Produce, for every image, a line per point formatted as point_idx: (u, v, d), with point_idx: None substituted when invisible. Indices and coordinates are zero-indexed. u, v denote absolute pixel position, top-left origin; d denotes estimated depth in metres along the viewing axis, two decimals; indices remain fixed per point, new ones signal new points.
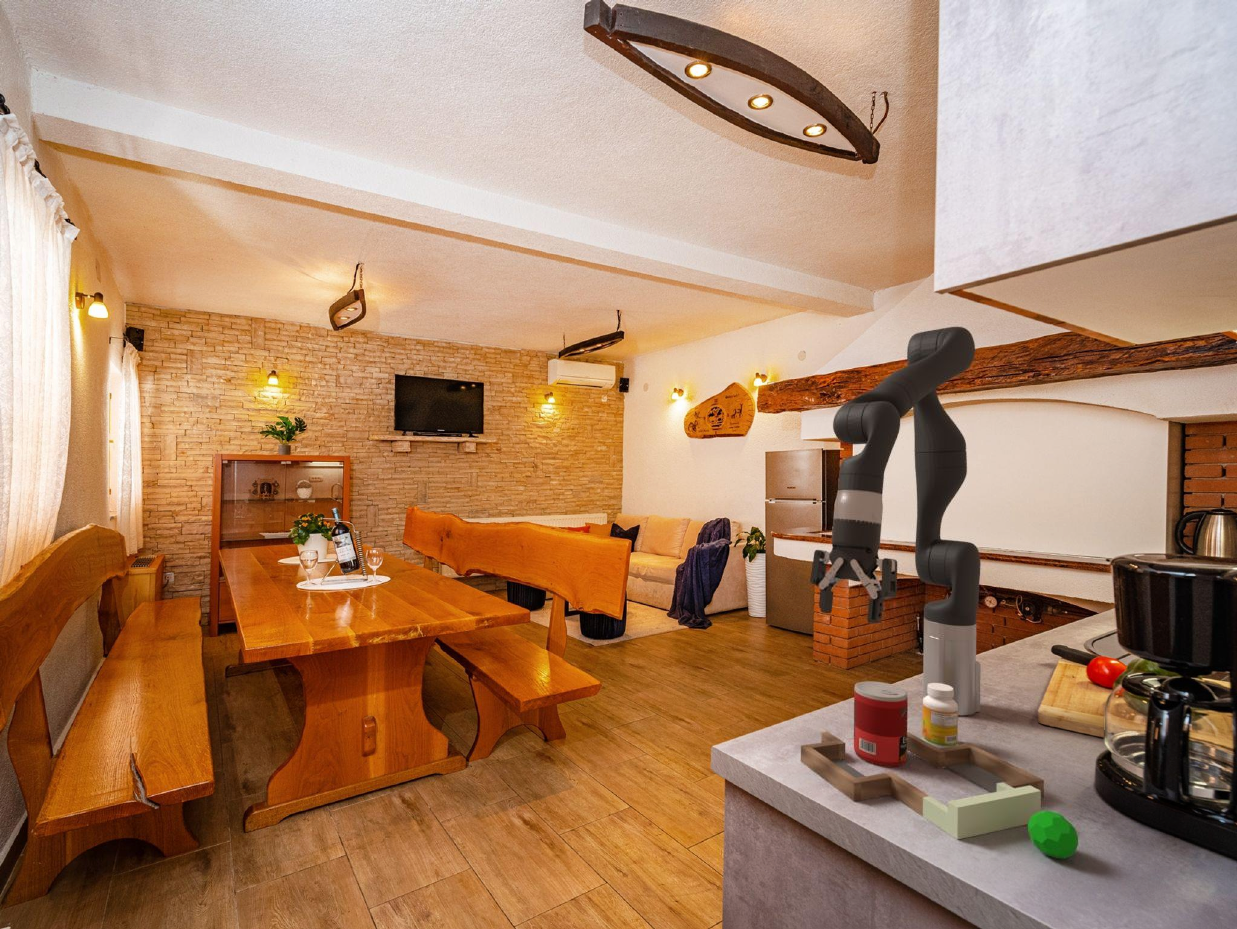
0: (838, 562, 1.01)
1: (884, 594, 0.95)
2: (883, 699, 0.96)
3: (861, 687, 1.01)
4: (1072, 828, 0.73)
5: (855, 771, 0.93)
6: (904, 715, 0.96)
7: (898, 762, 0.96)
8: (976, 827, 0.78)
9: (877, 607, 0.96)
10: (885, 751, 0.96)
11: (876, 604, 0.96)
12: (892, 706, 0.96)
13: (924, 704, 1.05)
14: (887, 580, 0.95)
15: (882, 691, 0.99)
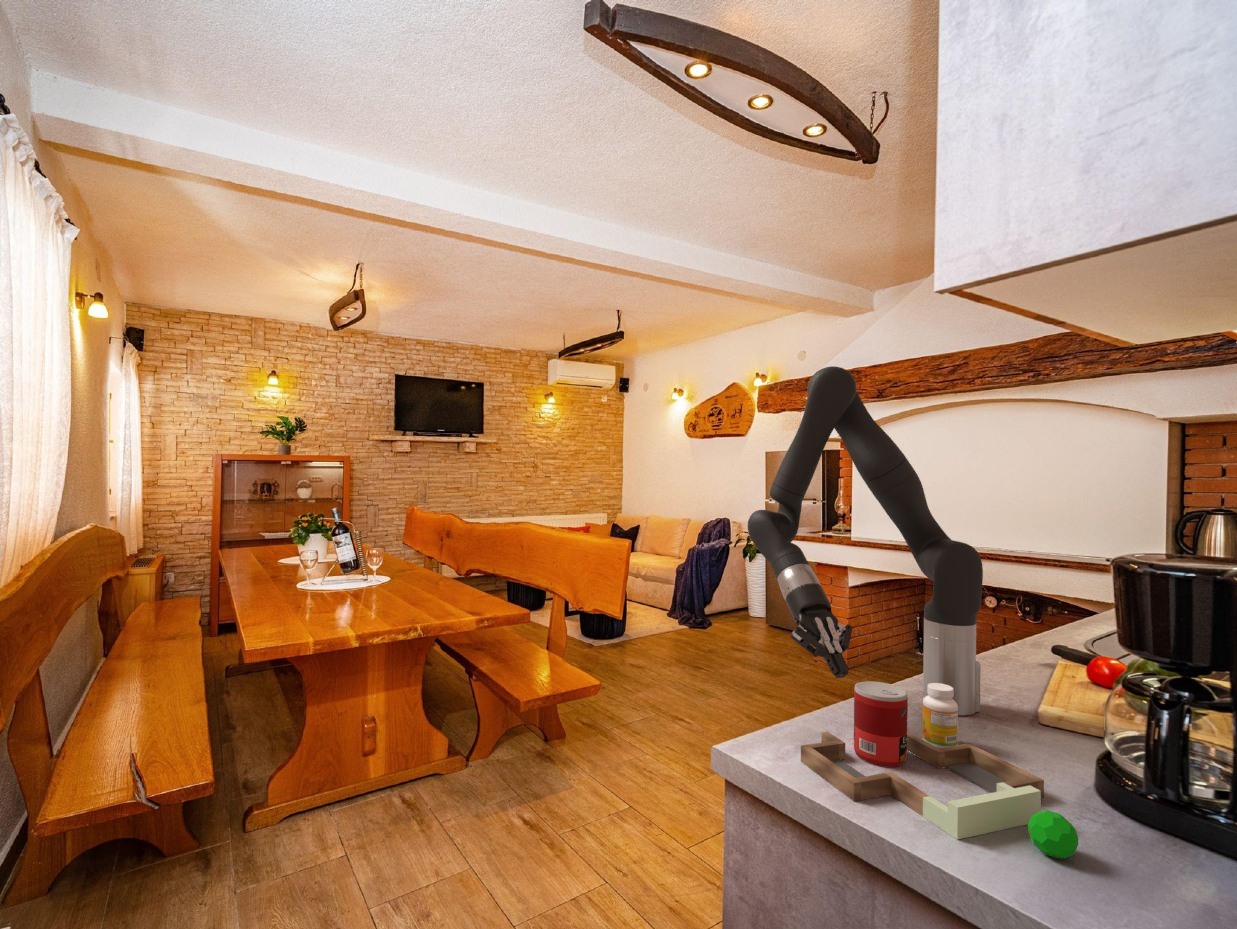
0: None
1: None
2: (883, 699, 0.96)
3: (862, 687, 1.01)
4: (1072, 828, 0.73)
5: (855, 771, 0.93)
6: (904, 715, 0.96)
7: (898, 762, 0.96)
8: (976, 827, 0.78)
9: (828, 664, 1.10)
10: (885, 751, 0.96)
11: None
12: (892, 706, 0.96)
13: (924, 704, 1.05)
14: None
15: (882, 691, 0.99)
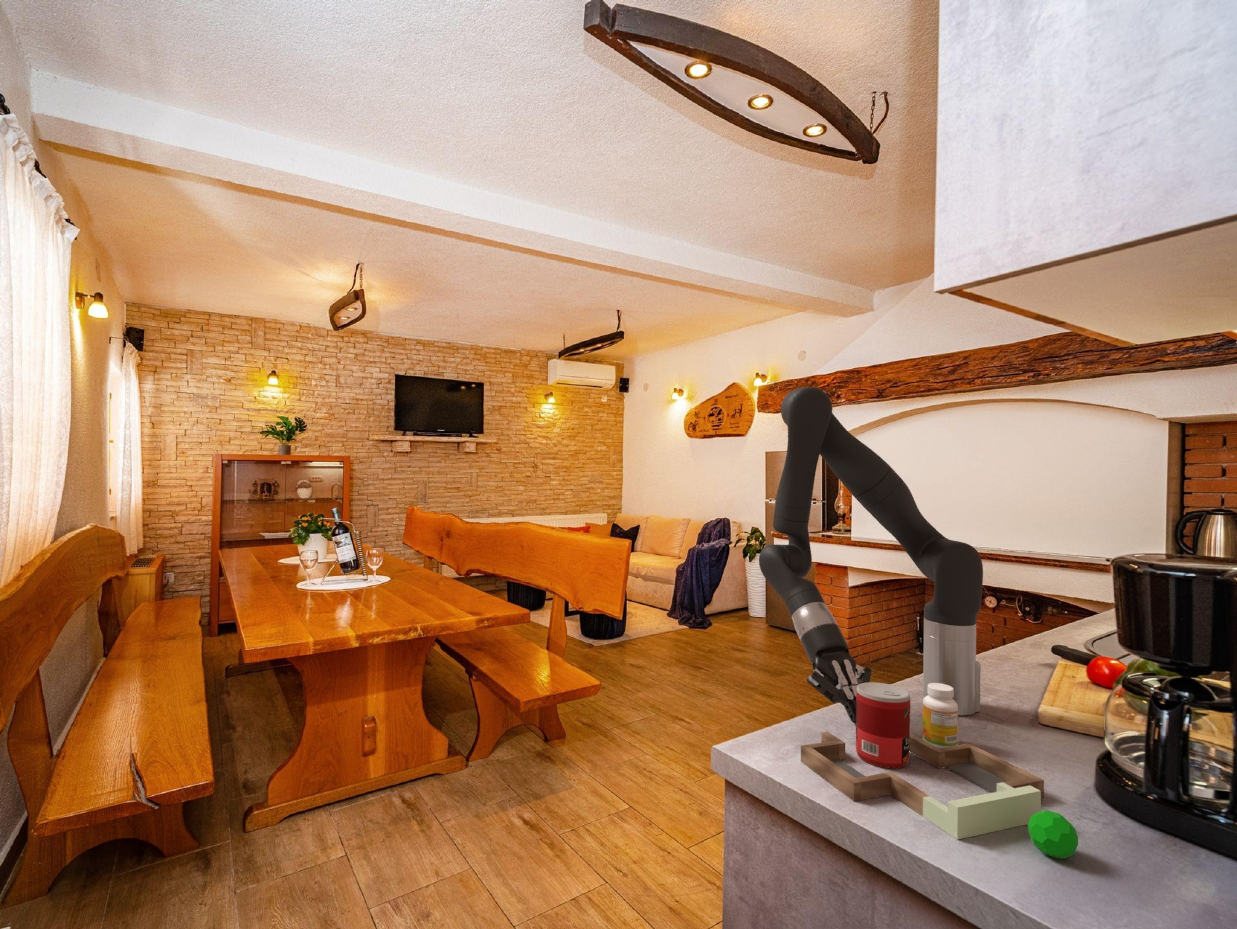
0: None
1: None
2: (885, 700, 0.95)
3: (864, 688, 1.01)
4: (1072, 828, 0.73)
5: (855, 771, 0.93)
6: (907, 716, 0.96)
7: (901, 763, 0.95)
8: (976, 827, 0.78)
9: (847, 711, 1.05)
10: (887, 753, 0.95)
11: None
12: (894, 707, 0.95)
13: (924, 704, 1.05)
14: None
15: (884, 692, 0.98)
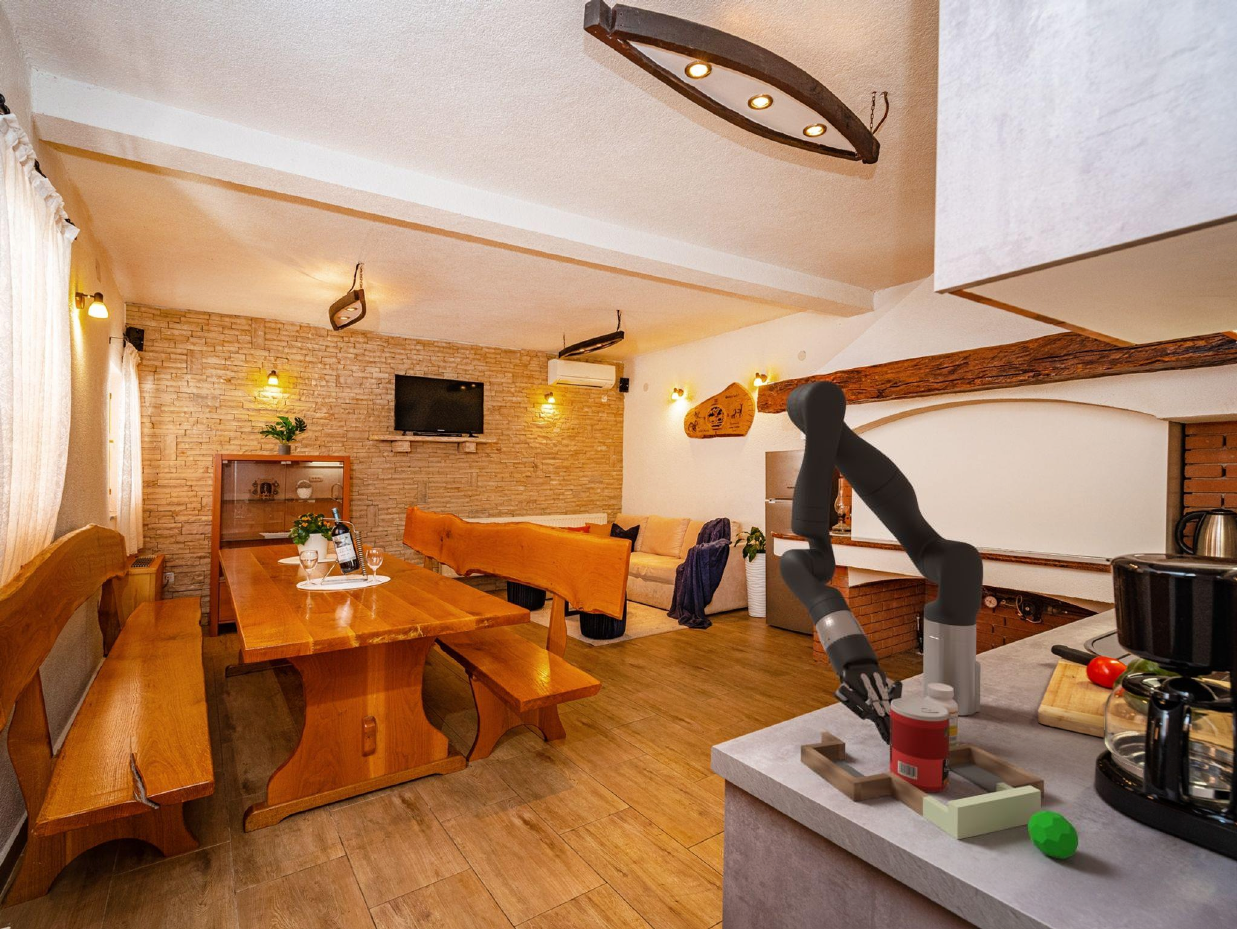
0: None
1: None
2: (925, 719, 0.88)
3: (898, 705, 0.93)
4: (1072, 828, 0.73)
5: (855, 771, 0.93)
6: (947, 736, 0.89)
7: (941, 787, 0.88)
8: (976, 827, 0.78)
9: (878, 729, 0.98)
10: (927, 775, 0.88)
11: None
12: (935, 726, 0.88)
13: None
14: None
15: (921, 710, 0.91)
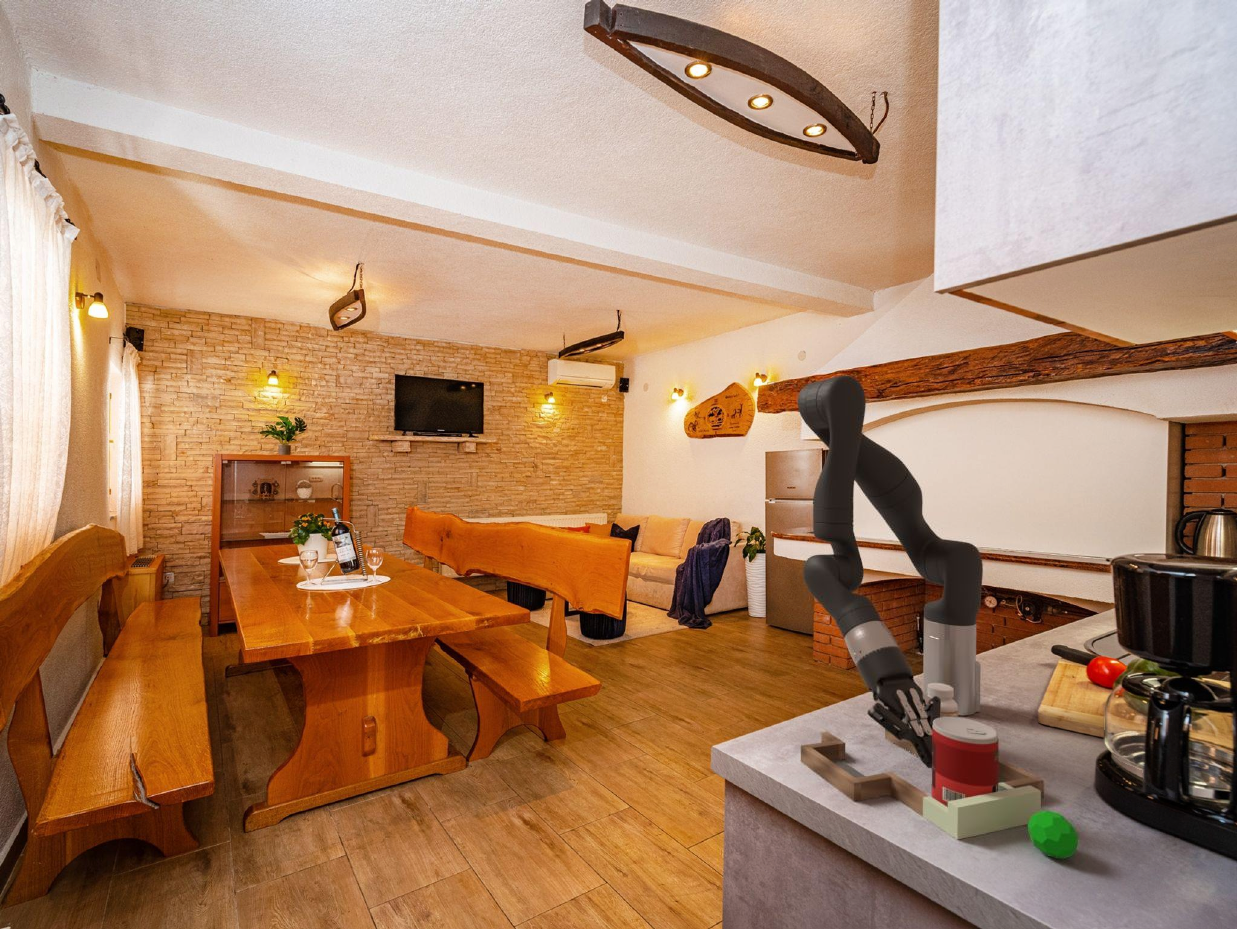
0: None
1: None
2: (974, 741, 0.81)
3: (941, 725, 0.86)
4: (1072, 828, 0.73)
5: (855, 771, 0.93)
6: (996, 759, 0.82)
7: None
8: (976, 827, 0.78)
9: (917, 750, 0.90)
10: None
11: None
12: (984, 749, 0.81)
13: None
14: None
15: (967, 731, 0.84)
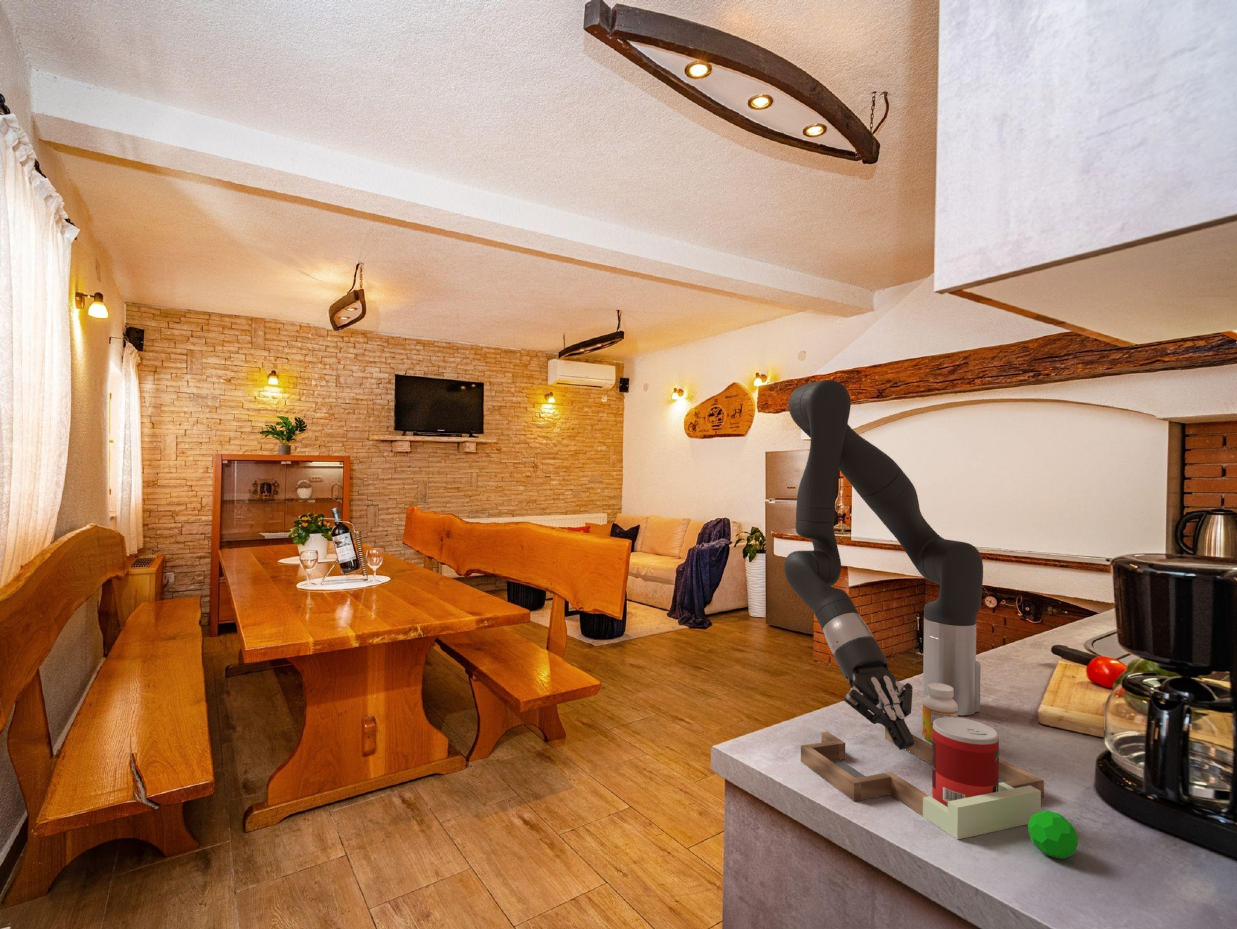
0: None
1: None
2: (974, 742, 0.81)
3: (941, 725, 0.86)
4: (1072, 828, 0.73)
5: (855, 771, 0.93)
6: (997, 760, 0.82)
7: None
8: (976, 827, 0.78)
9: (889, 733, 0.96)
10: None
11: None
12: (984, 749, 0.81)
13: (924, 704, 1.05)
14: None
15: (968, 731, 0.84)
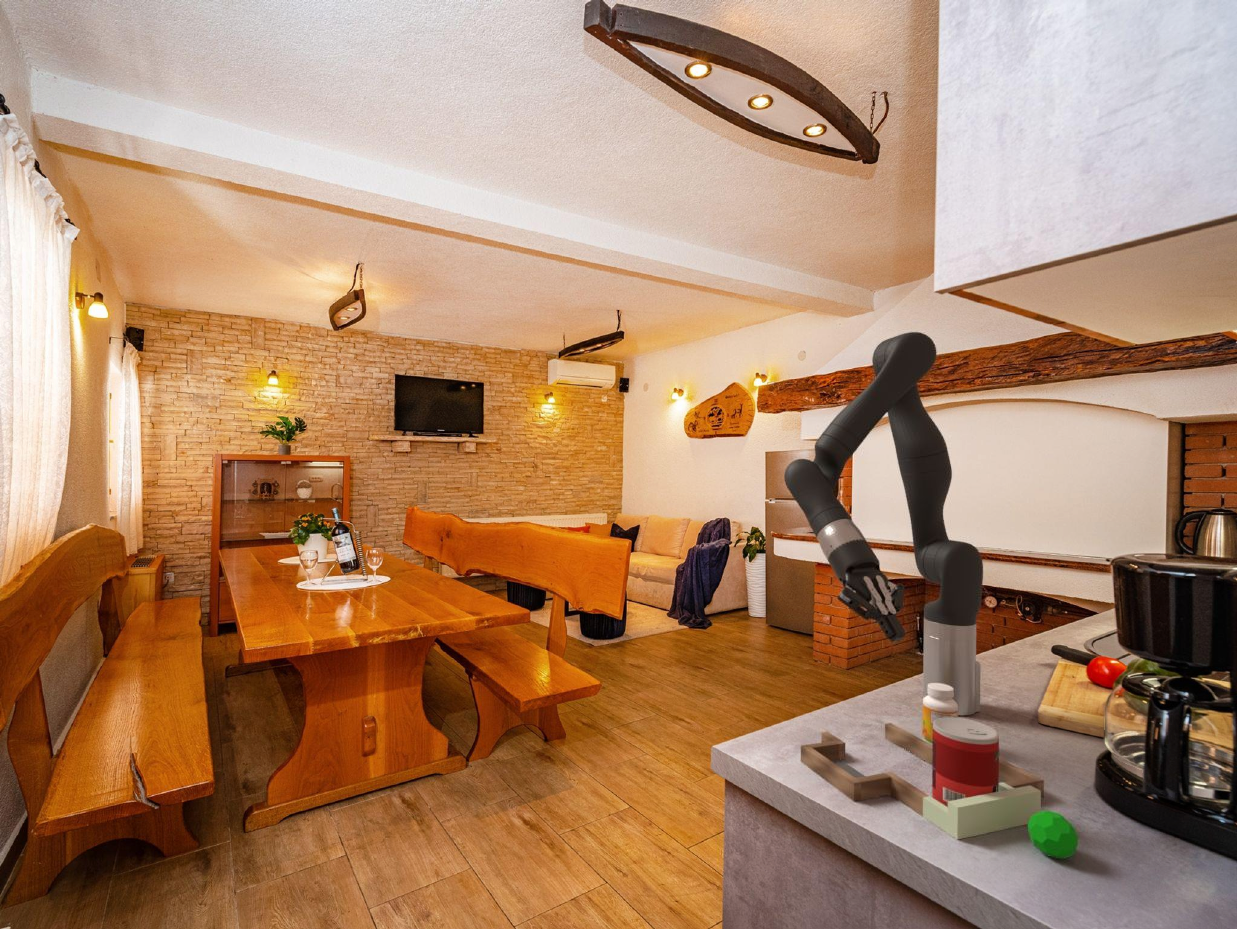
0: None
1: None
2: (974, 742, 0.81)
3: (941, 725, 0.86)
4: (1072, 828, 0.73)
5: (855, 771, 0.93)
6: (997, 760, 0.82)
7: None
8: (976, 827, 0.78)
9: (881, 627, 0.99)
10: None
11: None
12: (984, 749, 0.81)
13: (924, 704, 1.05)
14: None
15: (968, 731, 0.84)
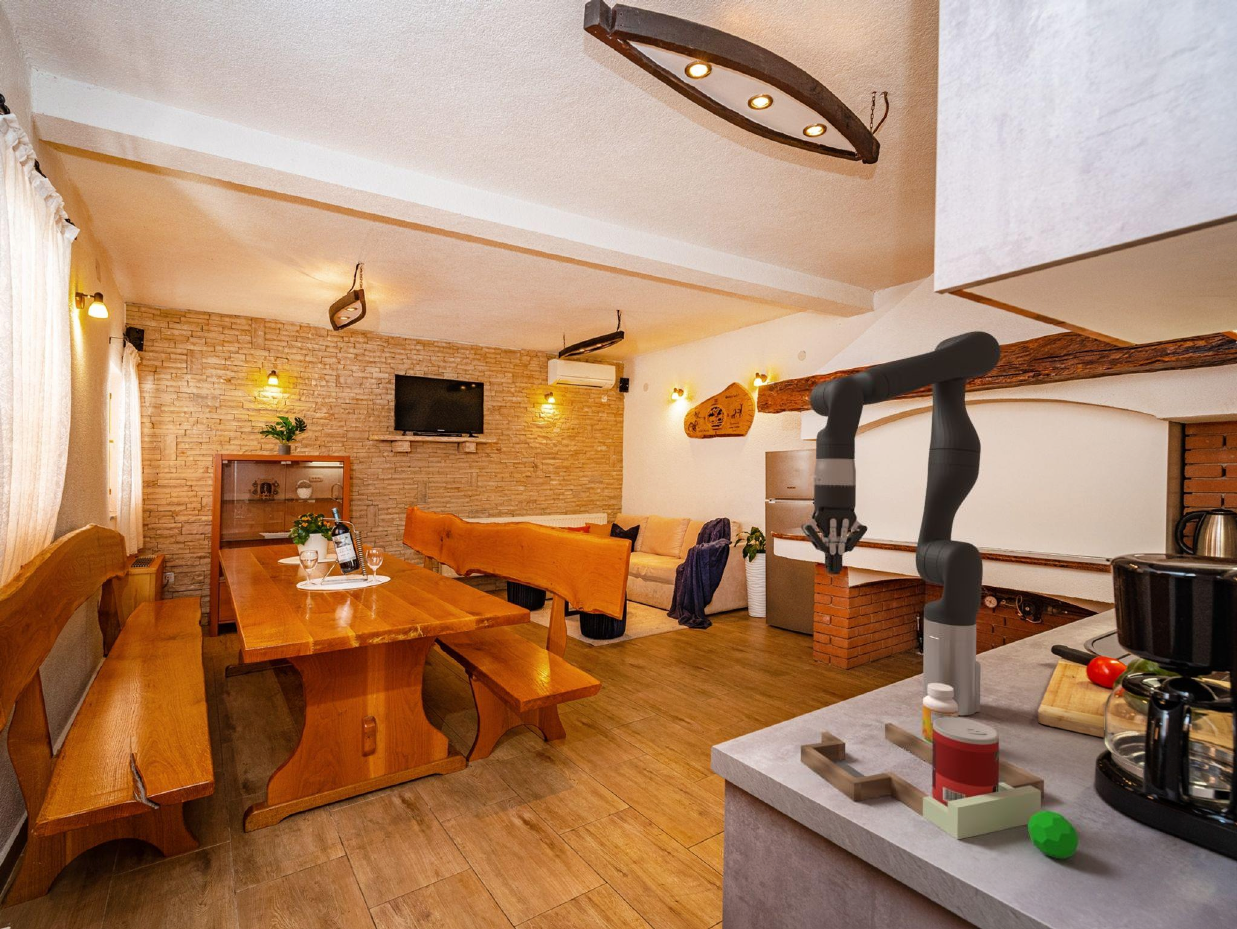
0: None
1: None
2: (974, 742, 0.81)
3: (941, 725, 0.86)
4: (1072, 828, 0.73)
5: (855, 771, 0.93)
6: (997, 760, 0.82)
7: None
8: (976, 827, 0.78)
9: (825, 560, 1.17)
10: None
11: None
12: (984, 749, 0.81)
13: (924, 704, 1.05)
14: None
15: (968, 731, 0.84)
